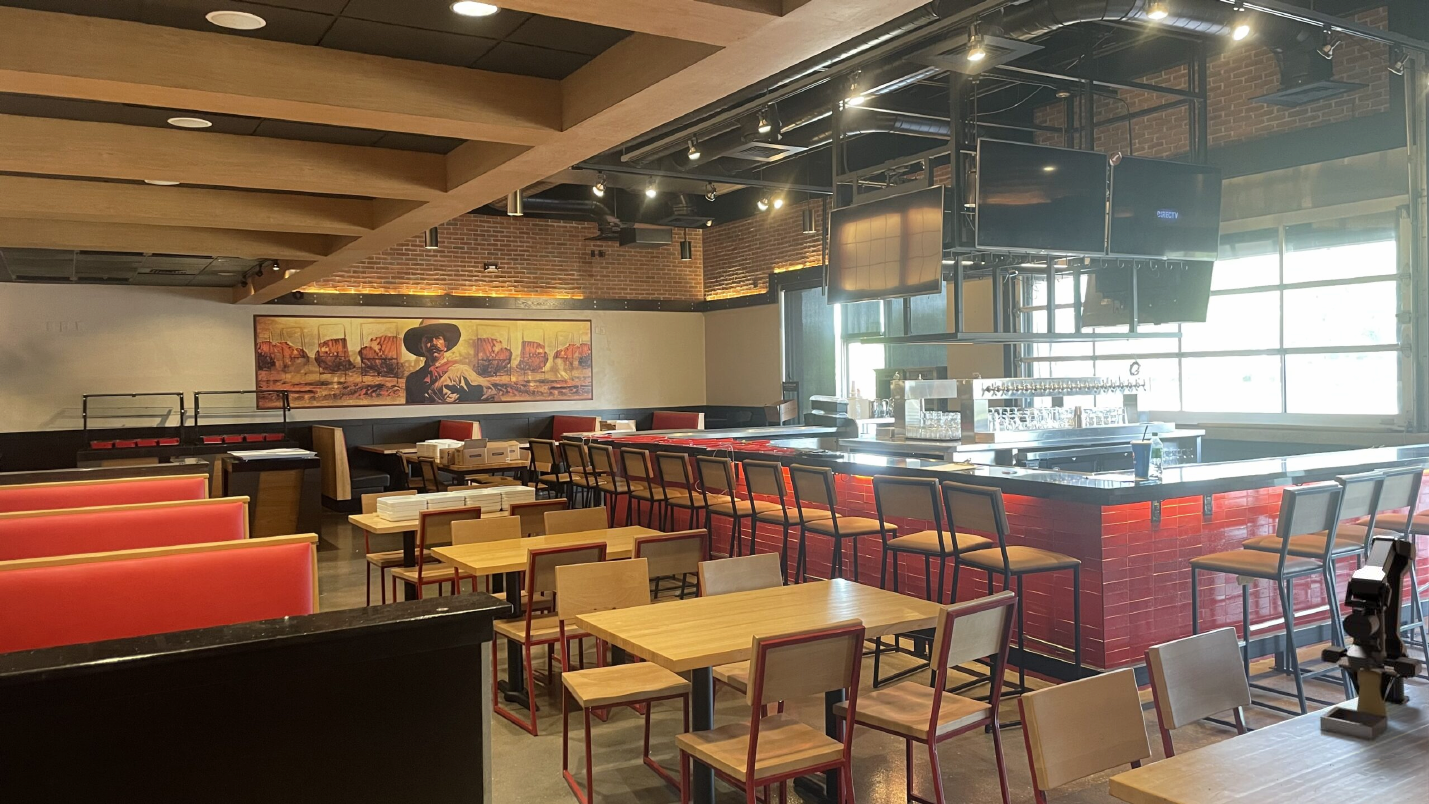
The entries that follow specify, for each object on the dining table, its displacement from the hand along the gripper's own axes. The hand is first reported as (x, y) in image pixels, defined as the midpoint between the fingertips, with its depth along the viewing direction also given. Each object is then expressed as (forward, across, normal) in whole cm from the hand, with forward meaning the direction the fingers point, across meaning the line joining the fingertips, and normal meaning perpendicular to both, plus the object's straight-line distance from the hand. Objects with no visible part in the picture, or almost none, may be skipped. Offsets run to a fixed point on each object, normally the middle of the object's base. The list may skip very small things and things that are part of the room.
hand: (1371, 697), depth 225 cm
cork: (+5, 0, 0) cm, 5 cm away
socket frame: (+4, 0, -12) cm, 13 cm away
